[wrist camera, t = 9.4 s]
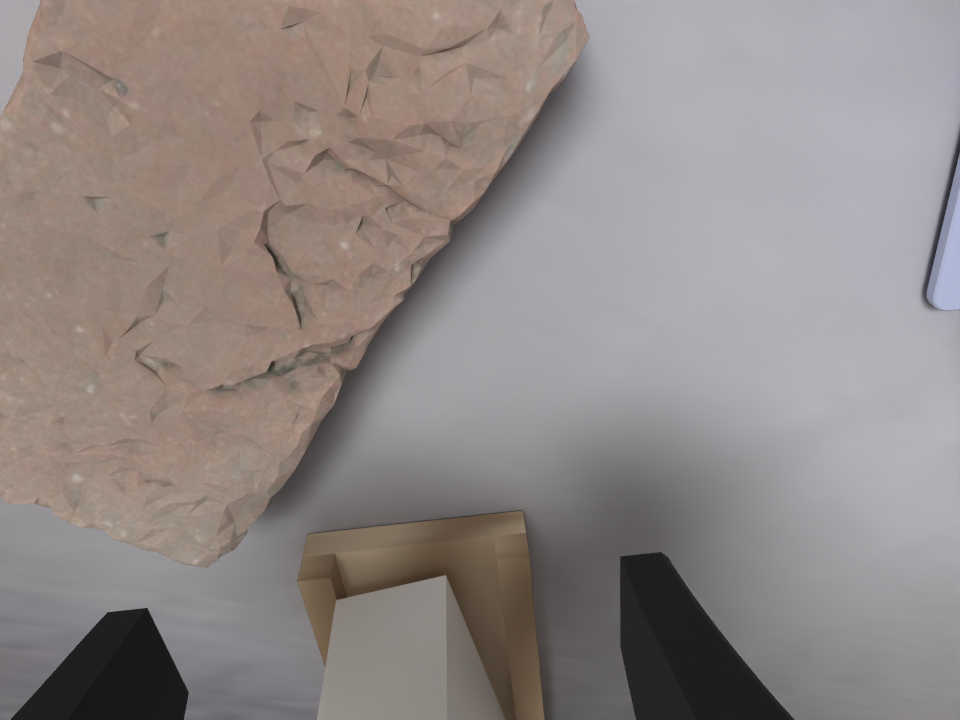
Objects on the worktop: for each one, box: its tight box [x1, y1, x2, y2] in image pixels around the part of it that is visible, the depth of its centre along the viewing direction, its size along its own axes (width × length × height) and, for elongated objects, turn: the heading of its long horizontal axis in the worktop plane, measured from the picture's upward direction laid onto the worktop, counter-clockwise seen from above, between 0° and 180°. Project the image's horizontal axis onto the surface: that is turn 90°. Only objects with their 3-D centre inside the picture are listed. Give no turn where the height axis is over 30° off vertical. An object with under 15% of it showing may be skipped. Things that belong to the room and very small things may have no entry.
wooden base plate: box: [297, 511, 544, 720], centre depth 25 cm, size 7×11×2 cm, turn 6°
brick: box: [0, 0, 589, 568], centre depth 16 cm, size 17×8×5 cm, turn 146°
